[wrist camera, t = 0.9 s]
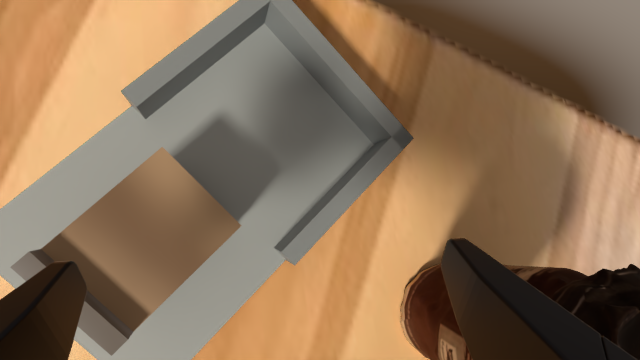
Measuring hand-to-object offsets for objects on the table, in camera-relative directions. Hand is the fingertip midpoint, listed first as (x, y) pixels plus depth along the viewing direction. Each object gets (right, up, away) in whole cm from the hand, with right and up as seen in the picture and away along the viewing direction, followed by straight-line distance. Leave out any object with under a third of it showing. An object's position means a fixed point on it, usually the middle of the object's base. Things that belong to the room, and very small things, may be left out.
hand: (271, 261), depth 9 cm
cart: (-8, -1, +11) cm, 13 cm away
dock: (-5, +2, +12) cm, 13 cm away
